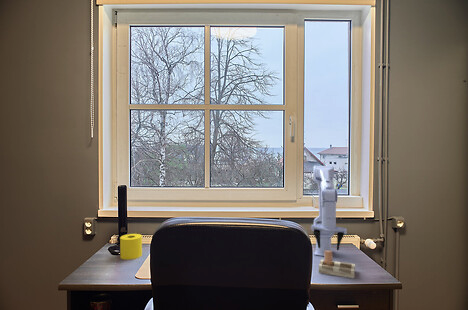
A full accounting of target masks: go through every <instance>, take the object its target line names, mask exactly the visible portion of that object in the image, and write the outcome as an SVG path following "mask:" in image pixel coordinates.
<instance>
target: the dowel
mask: <svg viewBox="0 0 468 310" xmlns="http://www.w3.org/2000/svg"><path fill="white" fill-rule="evenodd" d="M324 260H325V265H328V266H332V261H333V252H332V251H325V256H324Z"/></svg>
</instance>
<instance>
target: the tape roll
mask: <svg viewBox="0 0 468 310" xmlns="http://www.w3.org/2000/svg"><path fill="white" fill-rule="evenodd" d="M119 240H120V241H119V242H120V244H119V246H120V249H119V250H120V259H122V260H125V261H126V260H128V261H129V260H135V259H139V258H141V257H142V256H143V235H142V234H140V233H128V234H124V235H121V236H120V237H119Z"/></svg>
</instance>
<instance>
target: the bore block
mask: <svg viewBox="0 0 468 310" xmlns="http://www.w3.org/2000/svg"><path fill="white" fill-rule="evenodd" d="M355 266H356V264H355V263H351V262H349V263H348V262H343V261H337V260H336V261H335V260H332V266H328V265H325V259H320V261H319V264H318V273H319V274H325V275H331V276H336V277H344V278H350V279H355V274H356V273H355V272H356V269H355V268H356V267H355Z"/></svg>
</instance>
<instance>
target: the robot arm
mask: <svg viewBox="0 0 468 310" xmlns="http://www.w3.org/2000/svg"><path fill="white" fill-rule="evenodd" d="M312 174H313V182H314V183H315V184H317V187H318V216H317V217H315V218H313V219H314V220H313V224H311V227H310V230H311V231H313V236H314V237H315V251H314V255H315V256H320V257H321V256H322V257H325V251H332V253H333V251H334V250H332V238H333V237H334V236H335V233H336V234H337V235H336V241H337V242H336V245H337V246H336V251H339V250H340V244H341V242H342V240H343V237H344V235H347V233H348V232H347V231H348V230H347V227H346V228H345V227H339V226H336V225H337V224H336V222H337V221H336V219H337V203H338V197H339V196H338V190H337V189H336V188H335V185H334V182H333V181H334V179H335V167H334V165H316V164H315V165H314V166H313V170H312Z"/></svg>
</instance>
